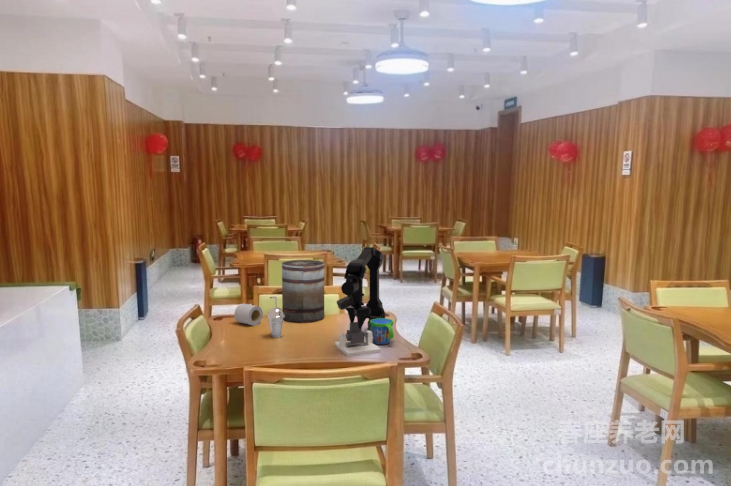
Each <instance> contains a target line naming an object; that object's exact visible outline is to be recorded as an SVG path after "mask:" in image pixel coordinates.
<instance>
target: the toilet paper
mask: <svg viewBox="0 0 731 486" xmlns="http://www.w3.org/2000/svg"><path fill="white" fill-rule="evenodd" d="M233 316H234V317H233V318H234V320H235V321H236V323H239V324H245V325H248V326H253V327H254V326H258V325H259V324H260V323H261V321H262V319H263V310H262V307H260V306H259V305H254V304H253V305H252V304H248V303H240V304H238V305H237V306H236V308H235V310H234V314H233Z"/></svg>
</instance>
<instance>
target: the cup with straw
mask: <svg viewBox="0 0 731 486" xmlns="http://www.w3.org/2000/svg"><path fill="white" fill-rule="evenodd" d="M269 298H270V299H274V307H273V308H271V309H270V310H269V311H268V313H267V316H266V317H267V318H268V322H269V327H270V334H271V338H273V339H275V338H276V339H279V338H281V337H282V331H283V330H282V329H283V323H284V320H283V318H284V317H285V314H284V313H283V311H282V308H280V307H277V303H278V301H277V296H269Z"/></svg>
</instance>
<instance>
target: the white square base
mask: <svg viewBox="0 0 731 486" xmlns="http://www.w3.org/2000/svg"><path fill="white" fill-rule="evenodd" d="M363 332H364V333H365V334H364V343H357V344H351V341H347V339H348V338H351V335H349V334H347V333H339V334H338V341H335V342H334V346H335V347H336V348H337V349H339V350H340V351H341V352H342V353H343V354H344V355H346V356H347V357H355V356H361V355H362V356H363V355H371V354H377V353H381V352H382V350H381V347H379V346H378V345H377V344H375V343H374V342H373V336H372V332H371V331H369V330H365V331H363ZM359 345H361V346H359ZM349 346H353V347H349Z"/></svg>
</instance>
